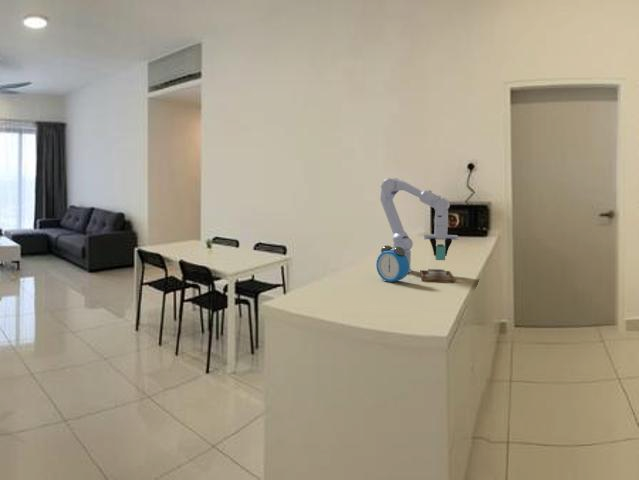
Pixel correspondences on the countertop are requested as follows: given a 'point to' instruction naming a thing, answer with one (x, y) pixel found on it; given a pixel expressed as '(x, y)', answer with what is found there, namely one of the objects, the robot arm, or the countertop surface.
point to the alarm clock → (392, 264)
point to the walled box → (436, 275)
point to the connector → (440, 252)
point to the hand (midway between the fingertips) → (440, 255)
